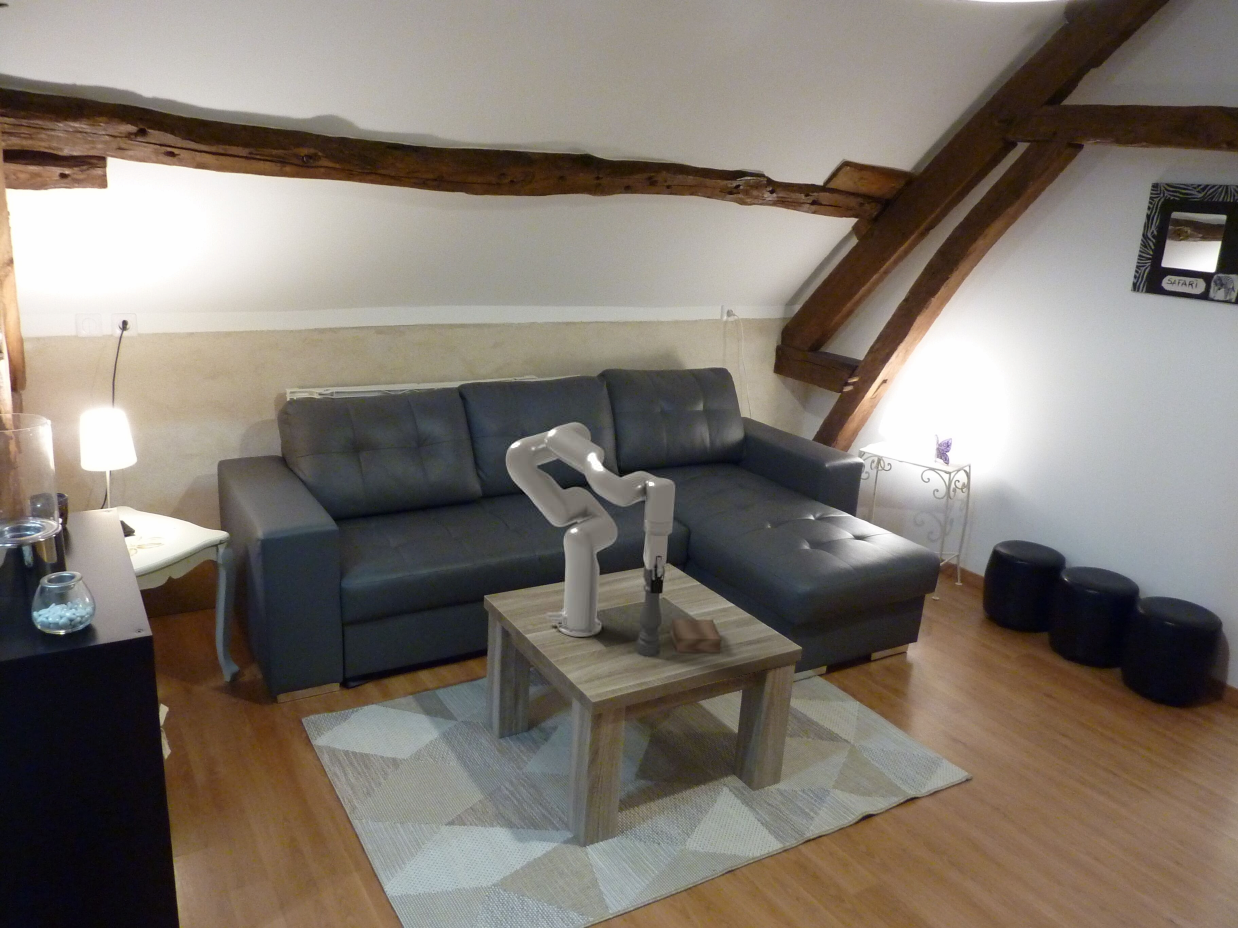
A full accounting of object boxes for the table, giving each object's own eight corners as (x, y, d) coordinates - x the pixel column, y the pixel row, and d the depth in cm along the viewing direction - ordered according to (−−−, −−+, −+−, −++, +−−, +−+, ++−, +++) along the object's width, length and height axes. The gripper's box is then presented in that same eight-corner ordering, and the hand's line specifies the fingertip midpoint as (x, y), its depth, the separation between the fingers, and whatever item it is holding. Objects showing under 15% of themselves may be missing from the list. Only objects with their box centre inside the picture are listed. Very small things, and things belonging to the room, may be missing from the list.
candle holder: (645, 643, 265) (652, 559, 258) (663, 651, 261) (670, 566, 254) (632, 651, 260) (638, 565, 253) (650, 658, 256) (656, 572, 249)
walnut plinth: (676, 651, 261) (678, 638, 260) (670, 631, 273) (671, 619, 272) (719, 652, 263) (721, 638, 262) (711, 632, 274) (712, 619, 273)
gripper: (640, 514, 258) (636, 572, 263) (648, 536, 242) (643, 598, 246) (667, 514, 259) (663, 573, 264) (677, 536, 242) (672, 599, 247)
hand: (653, 585), depth 255 cm, fingers open, 9 cm apart
